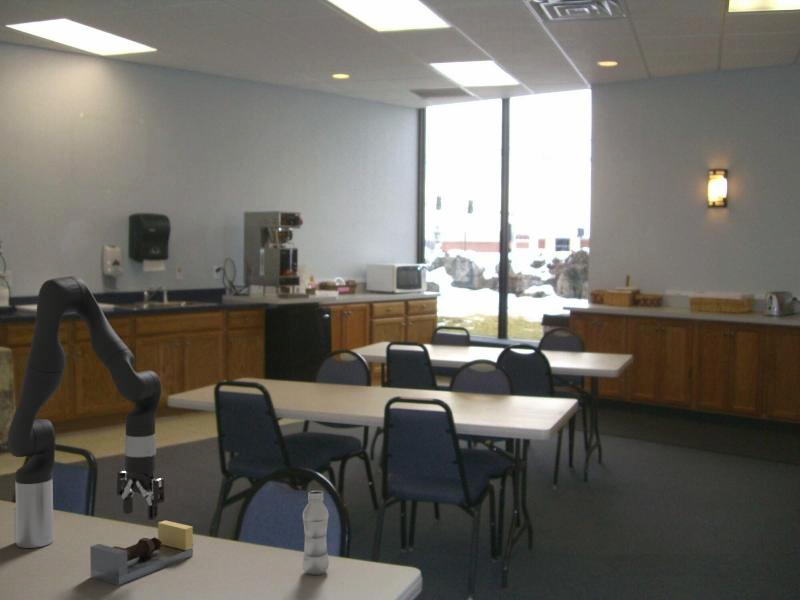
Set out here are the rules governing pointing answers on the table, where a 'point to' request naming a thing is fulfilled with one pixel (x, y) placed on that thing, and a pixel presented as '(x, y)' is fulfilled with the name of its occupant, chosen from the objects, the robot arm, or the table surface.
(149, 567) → the plate
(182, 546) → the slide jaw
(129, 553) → the bolt
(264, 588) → the table surface
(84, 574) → the table surface
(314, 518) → the plastic bottle
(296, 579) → the table surface
